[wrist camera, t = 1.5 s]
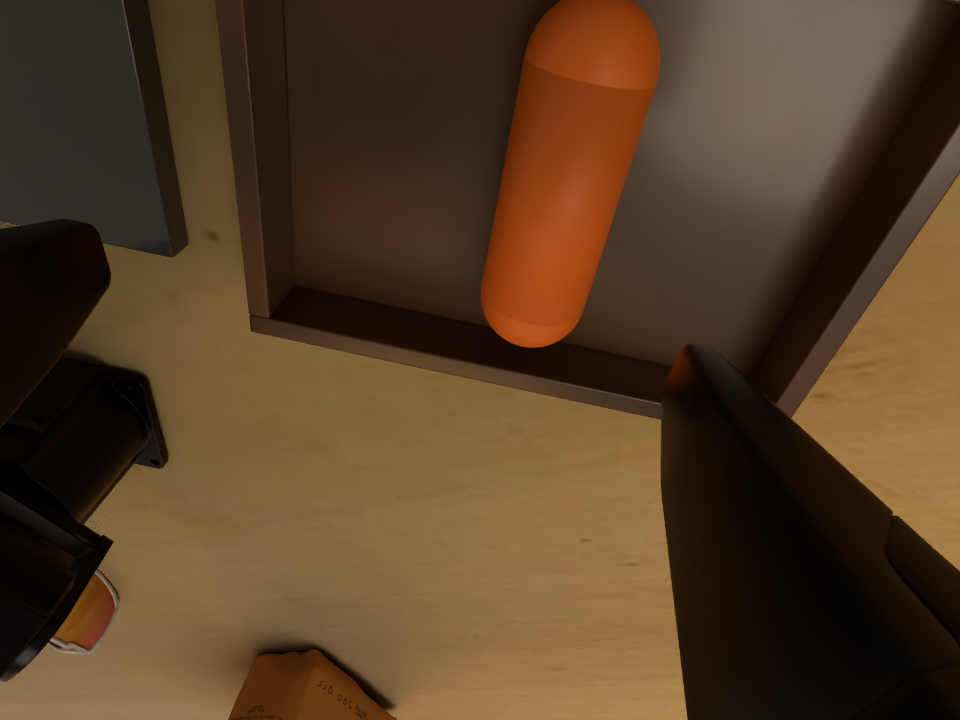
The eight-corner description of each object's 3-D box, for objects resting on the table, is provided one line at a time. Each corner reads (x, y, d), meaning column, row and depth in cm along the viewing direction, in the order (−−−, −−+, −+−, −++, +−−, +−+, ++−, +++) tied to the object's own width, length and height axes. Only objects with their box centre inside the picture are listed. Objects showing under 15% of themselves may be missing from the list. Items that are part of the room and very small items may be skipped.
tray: (754, 392, 24) (773, 444, 21) (282, 291, 24) (250, 332, 22) (1010, -27, 15) (1091, -16, 12) (253, -180, 15) (192, -199, 13)
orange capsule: (571, 320, 22) (569, 378, 20) (480, 300, 22) (466, 356, 20) (672, -3, 16) (692, 14, 13) (543, -30, 16) (534, -19, 13)
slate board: (189, 245, 23) (172, 258, 22) (-27, 199, 23) (-52, 210, 23) (106, -247, 15) (73, -259, 14) (-234, -316, 15) (-290, -332, 14)
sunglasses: (158, 601, 42) (109, 672, 38) (77, 614, 50) (31, 674, 47) (-27, 483, 36) (-106, 555, 32) (-84, 520, 44) (-152, 581, 41)
